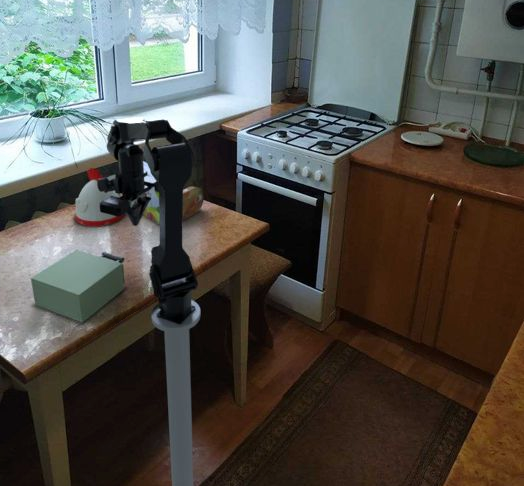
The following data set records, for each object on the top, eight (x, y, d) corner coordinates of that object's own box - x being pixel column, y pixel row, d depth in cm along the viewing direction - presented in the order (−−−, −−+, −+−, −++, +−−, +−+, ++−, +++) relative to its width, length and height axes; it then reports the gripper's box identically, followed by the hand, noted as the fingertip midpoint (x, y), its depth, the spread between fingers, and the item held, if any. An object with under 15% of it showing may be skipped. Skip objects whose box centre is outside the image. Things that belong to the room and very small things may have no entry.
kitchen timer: (107, 201, 160) (103, 158, 155) (132, 215, 152) (129, 170, 147) (67, 215, 151) (61, 169, 145) (92, 230, 142) (87, 182, 137)
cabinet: (79, 274, 122) (76, 249, 119) (123, 289, 117) (121, 263, 114) (35, 304, 110) (30, 277, 108) (82, 322, 105) (78, 295, 103)
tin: (172, 226, 147) (172, 200, 143) (164, 223, 148) (163, 197, 145) (204, 208, 158) (204, 184, 155) (197, 205, 160) (196, 181, 157)
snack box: (122, 203, 160) (119, 159, 154) (137, 198, 164) (135, 155, 158) (160, 226, 146) (157, 179, 141) (175, 220, 150) (174, 174, 144)
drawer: (96, 261, 126) (94, 243, 124) (136, 274, 121) (134, 255, 119) (44, 296, 112) (41, 276, 110) (87, 312, 107) (85, 292, 105)
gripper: (128, 151, 131) (132, 204, 137) (78, 175, 115) (84, 234, 121) (164, 159, 127) (166, 213, 133) (116, 184, 111) (121, 244, 117)
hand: (135, 225), depth 126 cm, fingers closed
